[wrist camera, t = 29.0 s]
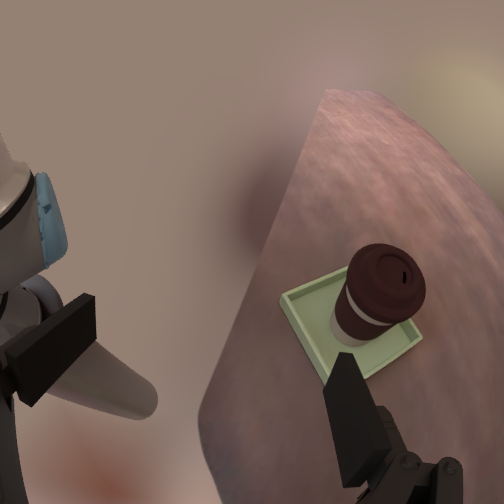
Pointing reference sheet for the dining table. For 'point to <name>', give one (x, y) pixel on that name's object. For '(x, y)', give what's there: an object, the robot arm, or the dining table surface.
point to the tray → (320, 334)
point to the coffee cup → (376, 294)
